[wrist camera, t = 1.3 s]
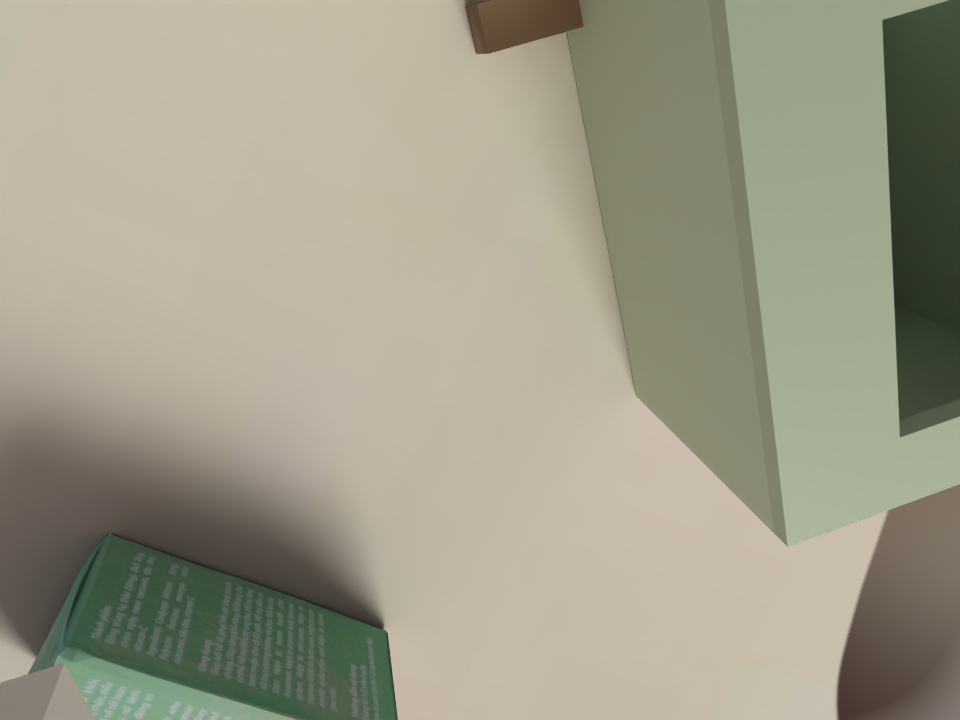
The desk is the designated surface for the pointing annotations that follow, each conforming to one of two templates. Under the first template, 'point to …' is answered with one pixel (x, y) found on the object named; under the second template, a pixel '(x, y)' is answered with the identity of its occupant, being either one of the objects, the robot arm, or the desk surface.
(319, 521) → the desk surface
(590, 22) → the box
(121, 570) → the box
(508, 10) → the cradle
